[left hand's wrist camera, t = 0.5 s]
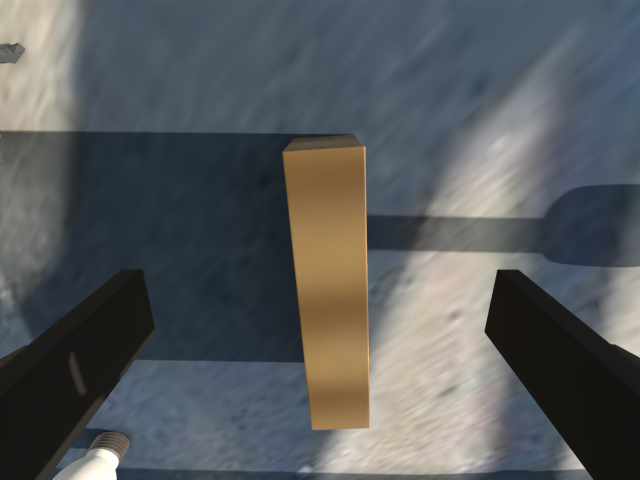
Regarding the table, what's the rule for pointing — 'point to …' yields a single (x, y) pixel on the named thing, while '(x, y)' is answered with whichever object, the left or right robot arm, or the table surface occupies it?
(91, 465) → the light bulb
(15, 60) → the toy
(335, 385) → the bar
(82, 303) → the left robot arm
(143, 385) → the table surface
